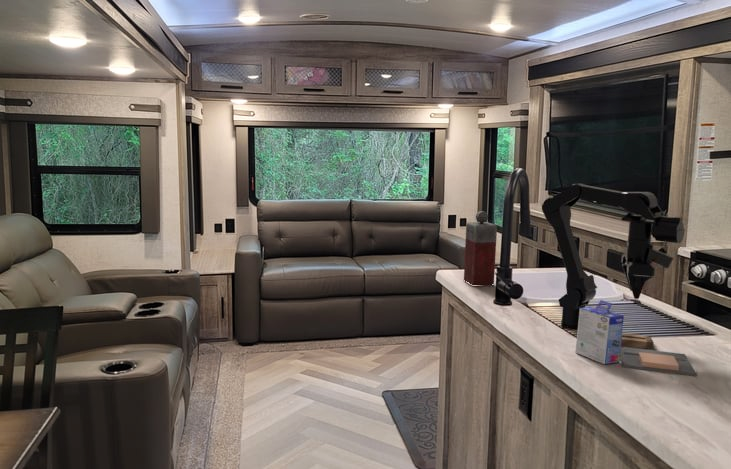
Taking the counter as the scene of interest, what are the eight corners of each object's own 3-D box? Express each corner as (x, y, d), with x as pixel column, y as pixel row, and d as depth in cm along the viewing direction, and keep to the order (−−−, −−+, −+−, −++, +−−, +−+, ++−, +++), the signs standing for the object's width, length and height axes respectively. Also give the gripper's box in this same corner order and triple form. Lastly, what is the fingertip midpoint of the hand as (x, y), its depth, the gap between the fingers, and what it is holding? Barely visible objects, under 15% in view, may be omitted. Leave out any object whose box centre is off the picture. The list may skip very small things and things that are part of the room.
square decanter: (482, 279, 237) (485, 209, 233) (494, 285, 227) (498, 212, 222) (461, 279, 236) (464, 209, 231) (472, 286, 225) (475, 212, 220)
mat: (623, 367, 145) (623, 362, 145) (617, 348, 158) (618, 344, 158) (696, 376, 140) (697, 371, 140) (684, 356, 153) (685, 351, 153)
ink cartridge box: (621, 362, 148) (626, 306, 146) (605, 365, 146) (610, 308, 144) (589, 350, 157) (594, 296, 155) (574, 353, 154) (578, 298, 152)
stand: (604, 343, 162) (605, 337, 162) (603, 337, 167) (603, 331, 167) (653, 349, 159) (653, 342, 158) (649, 342, 164) (650, 336, 164)
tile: (638, 356, 151) (641, 366, 144) (638, 352, 151) (642, 361, 144) (673, 360, 148) (678, 370, 142) (673, 356, 148) (679, 365, 142)
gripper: (679, 246, 150) (672, 306, 152) (666, 235, 168) (661, 289, 170) (631, 243, 153) (625, 301, 156) (623, 233, 171) (618, 286, 173)
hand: (634, 294), depth 164 cm, fingers open, 9 cm apart
